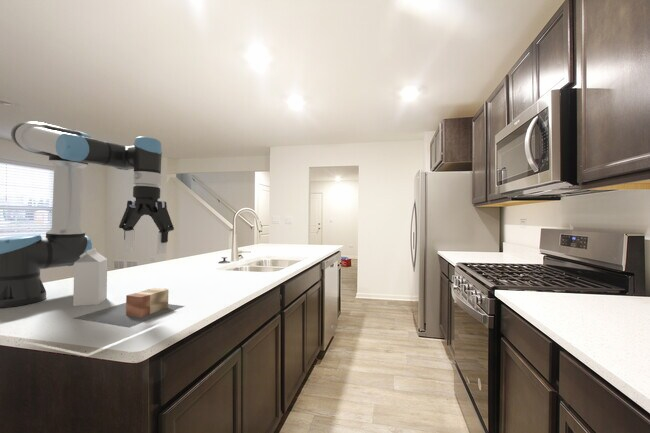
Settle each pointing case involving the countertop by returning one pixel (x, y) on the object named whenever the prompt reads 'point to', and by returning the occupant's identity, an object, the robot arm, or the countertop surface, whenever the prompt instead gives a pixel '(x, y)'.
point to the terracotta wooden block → (146, 302)
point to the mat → (123, 315)
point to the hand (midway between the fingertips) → (145, 251)
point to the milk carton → (90, 279)
